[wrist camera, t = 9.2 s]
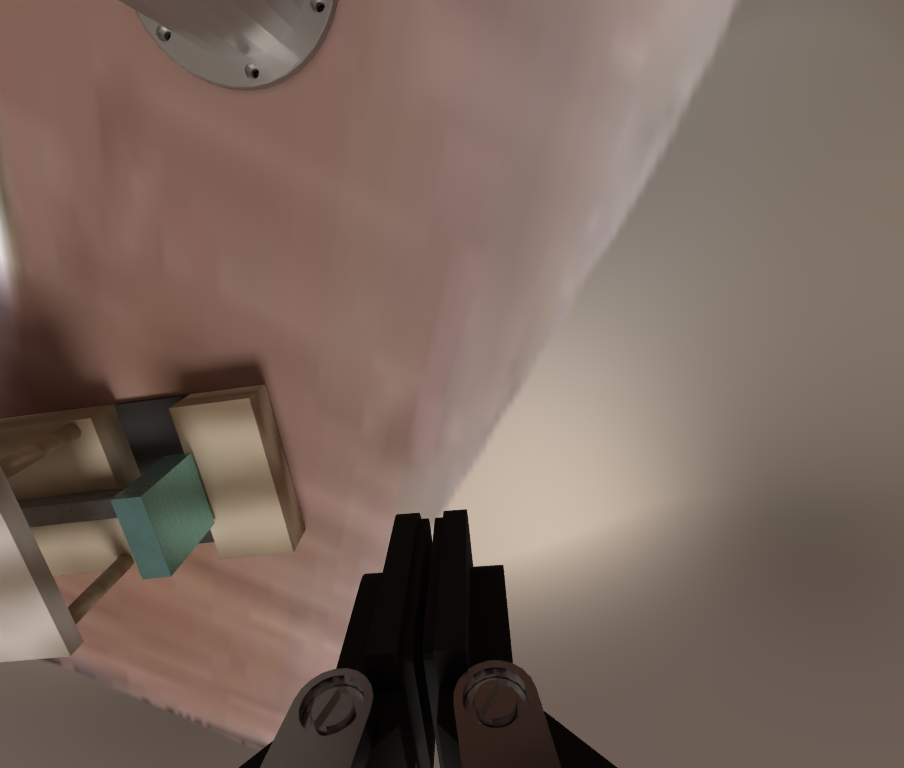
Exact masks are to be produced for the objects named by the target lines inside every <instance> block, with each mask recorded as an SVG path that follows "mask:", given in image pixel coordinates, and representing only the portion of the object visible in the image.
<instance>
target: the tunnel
mask: <svg viewBox="0 0 904 768" xmlns="http://www.w3.org/2000/svg"><path fill="white" fill-rule="evenodd" d="M187 453H191V454H192V457H193V460H194V463H195V466H196V469H197V472H198V475H199V478H200V481H201V484H202V487H203V490H204V493H205V496H206V498H207V501H208V504H209V507H210V510H211V513H212V516H213V519H214V522H215V524H214V525H213V526H212V527H211V529H210V530H209V531H208V532H207V533H206V535H205V536H204V537H203V538H202V540H201V541H200V542H199V543H208V542H215V544H216V547H217V550H218V553H219V556H220V559H221V560H222V559H232V558H242V557H252V556H262V555H272V554H282V553H292V552H294V551H295V549H296V547H297V545H298V543H299V541H300V539H301V537H302V535H303V533H304V532H305V526H304V523H303V519H302V515H301V512H300V508H299V504H298V501H297V497H296V494H295V490H294V486H293V483H292V479H291V475H290V472H289V468H288V464H287V461H286V457H285V454H284V450H283V446H282V443H281V439H280V435H279V432H278V428H277V424H276V421H275V417H274V413H273V410H272V406H271V403H270V399H269V395H268V392H267V388H266V384H264V385H256V386H249V387H241V388H233V389H225V390H218V391H210V392H202V393H194V394H187V395H179V396H171V397H163V398H156V399H148V400H140V401H132V402H124V403H117V404H109V405H101V406H93V407H86V408H78V409H70V410H62V411H55V412H47V413H39V414H31V415H23V416H16V417H8V418H0V662H8V661H20V660H31V659H43V658H55V657H67V656H71V655H72V654H73V653H74V652H75V651H76V649H77V648H78V647H79V646H80V645H81V644H82V643H83V642H84V641H83V639H82V637H81V635H80V633H79V631H78V629H77V627H76V624H77V623H78V622H79V621H80V620H81V619H82V617H83V616H84V615H85V614H86V613H87V612H88V611H89V610H90V609H91V608H92V607H93V606H94V605H95V604H96V603H97V602H98V601H99V600H100V599H101V598H102V597H103V596H104V594H105V593H106V592H107V591H108V590H109V589H110V588H111V587H112V586H113V585H114V584H115V583H116V582H117V581H118V580H119V579H120V578H121V577H122V576H123V575H124V574H125V573H126V571H127V570H128V569H132V568H138V567H137V564H136V562H135V559H134V557H133V554H132V552H131V549H130V547H129V545H128V542H127V540H126V537H125V535H124V532H123V530H122V527H121V525H120V522H119V520H118V518H112V519H103V520H94V521H85V522H75V523H66V524H57V525H48V526H39V527H29V525H28V523H27V521H26V519H25V517H24V514H23V512H22V510H21V508H20V506H19V504H18V502H17V500H25V499H34V498H43V497H52V496H60V495H69V494H78V493H87V492H95V491H104V490H113V489H122V488H126V487H127V486H129V485H130V484H131V483H132V482H134V481H135V480H136V479H137V478H139V477H140V476H141V475H142V474H144V473H145V472H146V471H147V470H148V469H150V468H151V467H152V466H153V465H155V464H156V463H157V462H158V461H160V460H161V459H162V458H163V457H165V456H170V455H178V454H187ZM102 571H104V572H103V573H102V574H101V575H100V576H99V577H98V578H97V579H96V580H95V581H94V582H93V583H92V584H91V585H90V586H89V587H88V588H87V589H86V590H85V591H84V592H83V593H82V594H81V595H80V596H79V597H78V598H77V599H76V600H75V601H74V602H73V603H72V604H71V605H70V606H69V607H68V608H67V605H66V603H65V601H64V599H63V597H62V595H61V593H60V591H59V588H58V586H57V584H56V582H55V580H54V578H53V576H62V575H72V574H82V573H92V572H102Z"/></svg>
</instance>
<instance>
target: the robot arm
mask: <svg viewBox="0 0 904 768" xmlns="http://www.w3.org/2000/svg"><path fill="white" fill-rule="evenodd" d="M119 1H121V2H123V3H124V4H126V5H128V6H129V7H131V8H133V9H134V10H135V12H136V13H137V15H138V17H139V19H140V21H141V22H142V24H143V26H144V28H145V30H146V31H147V32H148V33H149V35H150V36H151V37H152V39H153V40H154V41H155V43H156V44H157V45H158V46H159V48H160V49H161V50H162V51H163V52H164V53H166V54H167V55H168V56H169V57H170V58H171V59H172V60H173V61H174V62H175V63H176V64H178V65H179V66H181V67H182V68H184V69H185V70H187V71H188V72H190V73H191V74H193V75H194V76H196V77H199V78H201V79H203V80H205V81H207V82H209V83H212V84H215V85H218V86H221V87H224V88H228V89H236V90H246V91H248V90H256V89H265V88H268V87H271V86H274V85H276V84H279V83H282V82H284V81H286V80H287V79H289V78H290V77H292V76H293V75H295V74H297V73H298V72H300V71H301V70H302V69H303V68H304V67H305V66H306V65H307V64H308V63H309V62H310V61H311V60H312V59H313V57H314V56H315V54H316V53H317V51H318V50H319V48H320V47H321V45H322V44H323V42H324V41H325V38H326V36H327V34H328V31H329V29H330V27H331V24H332V22H333V18H334V14H335V10H336V5H337V1H338V0H119ZM320 5H324V6H325V8H324V10H323V11H322V12H318V7H319V6H320ZM169 34H171V37H170V39H169V38H168V36H169ZM257 70H258V71H259V75H258V77H257V78H255V77H254V73H255V71H257ZM435 738H436V744H437V751H438V757H439V763H440V768H617V767H616V766H614V765H613V764H612V763H610V762H609V761H608V760H607V759H605V758H604V757H603V756H601V755H600V754H599V753H597V752H596V751H595V750H594V749H592V748H591V747H590V746H589V745H587V744H586V743H585V742H583V741H582V740H581V739H579V738H578V737H577V736H576V735H574V734H573V733H572V732H570V731H569V730H568V729H567V728H565V727H564V726H563V725H562V724H560V723H559V722H558V721H556V720H555V719H554V718H552V717H551V716H550V715H548V714H547V713H546V712H545V711H543V708H542V704H541V701H540V698H539V695H538V692H537V688H536V686H535V684H534V682H533V680H532V678H531V677H530V676H529V675H528V674H527V673H526V672H525V671H524V670H523V669H522V668H520V667H518V666H517V665H515V664H513V660H512V650H511V639H510V629H509V619H508V609H507V598H506V588H505V578H504V568H503V565H495V566H479V567H473V561H472V553H471V543H470V533H469V524H468V515H467V510H453V511H444V513H443V517H442V518H435V524H434V534H433V543H432V536H431V529H430V522H429V519H421V516H420V513H411V514H397V515H396V517H395V521H394V525H393V530H392V534H391V538H390V543H389V547H388V552H387V556H386V560H385V565H384V569H383V573H371V574H364V575H363V577H362V579H361V582H360V586H359V589H358V593H357V596H356V600H355V604H354V607H353V611H352V614H351V618H350V622H349V625H348V629H347V632H346V636H345V639H344V643H343V647H342V650H341V654H340V657H339V661H338V665H337V668H336V669H333V670H330V671H327V672H324V673H322V674H320V675H318V676H317V677H315V678H313V679H312V680H310V681H309V682H308V683H307V684H306V685H305V686H304V687H303V688H302V689H301V690H300V692H299V693H298V695H297V696H296V698H295V699H294V701H293V703H292V705H291V707H290V709H289V711H288V713H287V715H286V717H285V719H284V721H283V723H282V725H281V727H280V729H279V731H278V733H277V734H276V736H275V738H274V740H273V741H272V742H271V743H270V744H268V745H267V746H266V747H265V748H263V749H262V750H261V751H260V752H258V753H257V754H256V755H254V756H253V757H252V758H251V759H249V760H248V761H247V762H246V763H244V764H243V765H242V766H240V767H239V768H433V767H434V752H435V751H434V750H435Z"/></svg>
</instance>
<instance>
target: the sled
mask: <svg viewBox="0 0 904 768" xmlns="http://www.w3.org/2000/svg"><path fill="white" fill-rule="evenodd" d="M17 502H18V504H19V506H20V508H21V510H22V512H23V514H24V517H25V519H26V521H27V523H28V525H29V527H39V526H48V525H57V524H66V523H75V522H85V521H94V520H103V519H112V518H118V520H119V522H120V525H121V527H122V530H123V532H124V535H125V537H126V540H127V542H128V545H129V547H130V549H131V552H132V554H133V557H134V559H135V562H136V564H137V567H138V569H139V572H140V574H141V576H142V579H149V578H159V577H170V576H172V575H173V574H174V572H175V571H176V570H177V569H178V568H179V566H180V565H181V564H182V563H183V561H184V560H185V559H186V558H187V557H188V555H189V554H190V553H191V552H192V551H193V549H194V548H195V547H196V546H197V544H198V543H199V542H200V541H201V540H202V538H203V537H204V536H205V535H206V533H207V532H208V531H209V530H210V529H211V527H212V526H213V525H214V524H215V522H214V519H213V516H212V513H211V510H210V507H209V504H208V501H207V498H206V496H205V493H204V490H203V487H202V484H201V481H200V478H199V475H198V472H197V469H196V466H195V463H194V460H193V457H192V454H191V453H187V454H178V455H170V456H165V457H163V458H162V459H161V460H160V461H158V462H157V463H156V464H155V465H153V466H152V467H151V468H150V469H148V470H147V471H146V472H145V473H144V474H142V475H141V476H140V477H139V478H137V479H136V480H135V481H134V482H132V483H131V484H130V485H129V486H127V487H126V488H122V489H113V490H104V491H95V492H87V493H78V494H69V495H60V496H52V497H43V498H34V499H25V500H17Z"/></svg>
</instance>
